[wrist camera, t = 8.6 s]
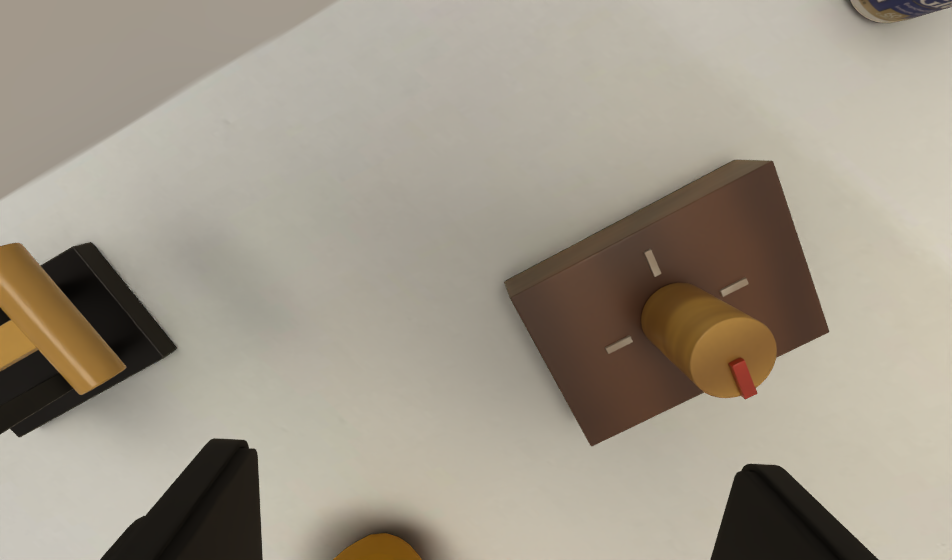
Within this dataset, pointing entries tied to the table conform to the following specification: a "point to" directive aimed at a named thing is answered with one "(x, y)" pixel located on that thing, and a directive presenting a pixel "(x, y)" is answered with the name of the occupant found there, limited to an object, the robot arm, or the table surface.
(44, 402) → the handle bracket
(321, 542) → the table surface
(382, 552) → the apple
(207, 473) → the robot arm
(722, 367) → the dial knob
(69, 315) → the door handle
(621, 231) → the brown dial base
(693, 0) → the table surface
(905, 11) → the pill bottle
